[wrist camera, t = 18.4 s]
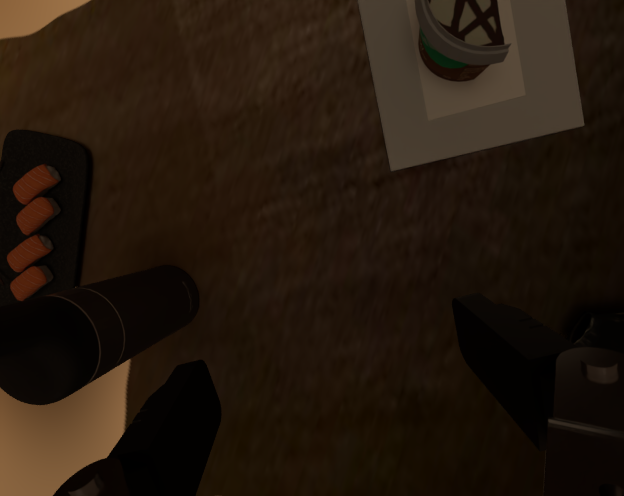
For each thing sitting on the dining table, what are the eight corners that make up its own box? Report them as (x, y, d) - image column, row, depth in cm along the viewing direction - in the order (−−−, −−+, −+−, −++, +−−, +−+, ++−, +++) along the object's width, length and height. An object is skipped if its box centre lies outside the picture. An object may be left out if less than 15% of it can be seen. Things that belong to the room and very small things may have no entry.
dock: (390, 172, 40) (391, 170, 39) (350, -36, 39) (349, -44, 38) (578, 127, 36) (585, 125, 35) (542, -107, 35) (548, -118, 33)
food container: (397, -4, 37) (404, -80, 27) (455, -24, 36) (485, -112, 26) (418, 109, 38) (432, 74, 28) (476, 93, 37) (512, 50, 27)
